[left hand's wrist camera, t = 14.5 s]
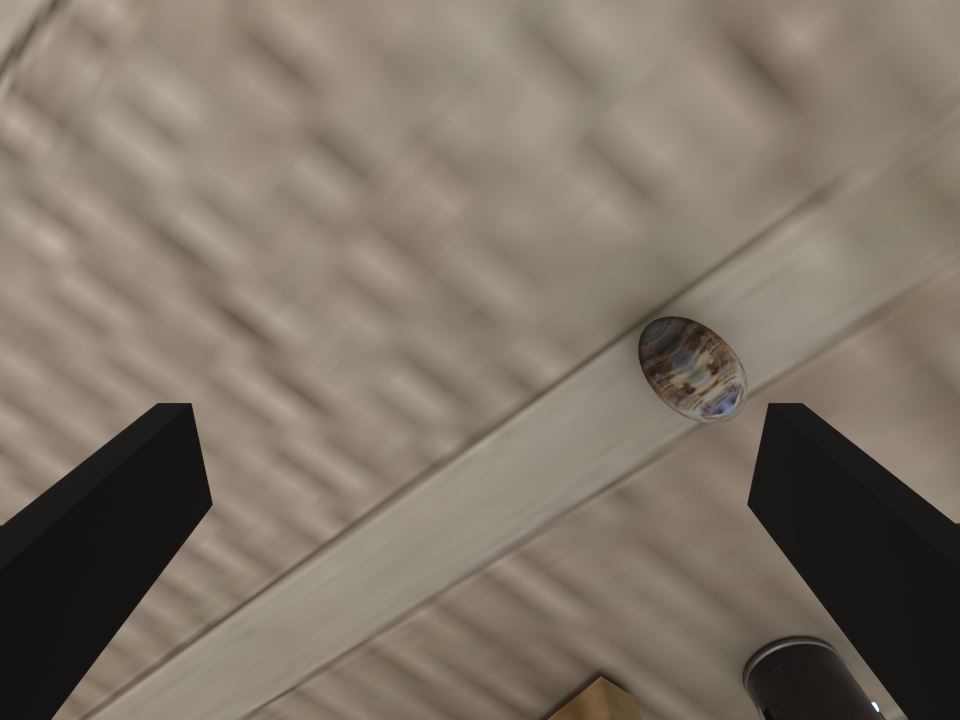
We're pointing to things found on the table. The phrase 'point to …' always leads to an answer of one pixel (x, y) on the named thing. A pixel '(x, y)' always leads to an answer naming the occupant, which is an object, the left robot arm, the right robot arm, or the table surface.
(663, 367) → the seashell
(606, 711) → the bar
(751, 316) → the table surface
